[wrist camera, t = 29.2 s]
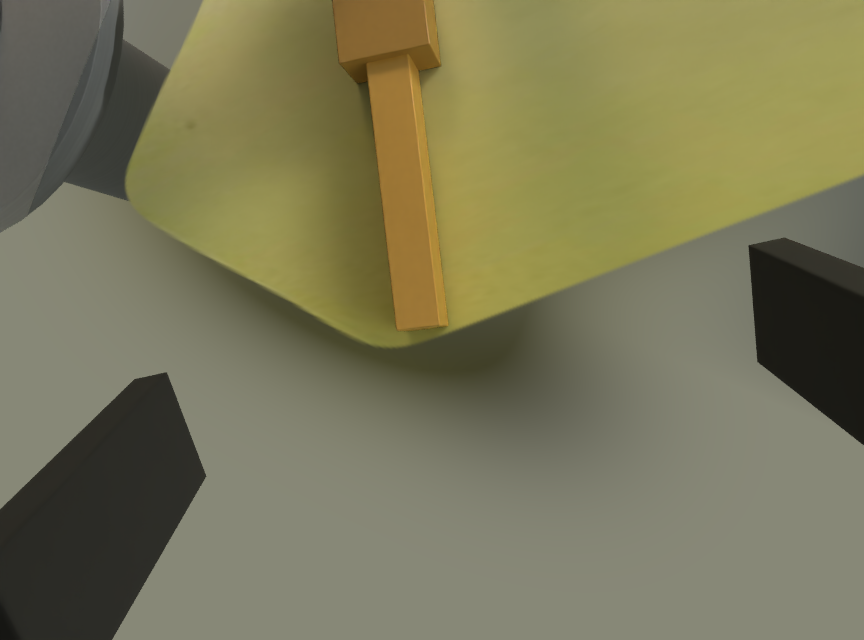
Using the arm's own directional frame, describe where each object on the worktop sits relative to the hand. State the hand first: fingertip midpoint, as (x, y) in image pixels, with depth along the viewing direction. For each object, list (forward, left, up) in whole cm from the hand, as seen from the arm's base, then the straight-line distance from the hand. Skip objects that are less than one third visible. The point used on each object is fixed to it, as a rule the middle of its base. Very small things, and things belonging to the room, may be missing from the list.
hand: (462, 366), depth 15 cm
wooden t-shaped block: (-11, +7, -22) cm, 25 cm away
